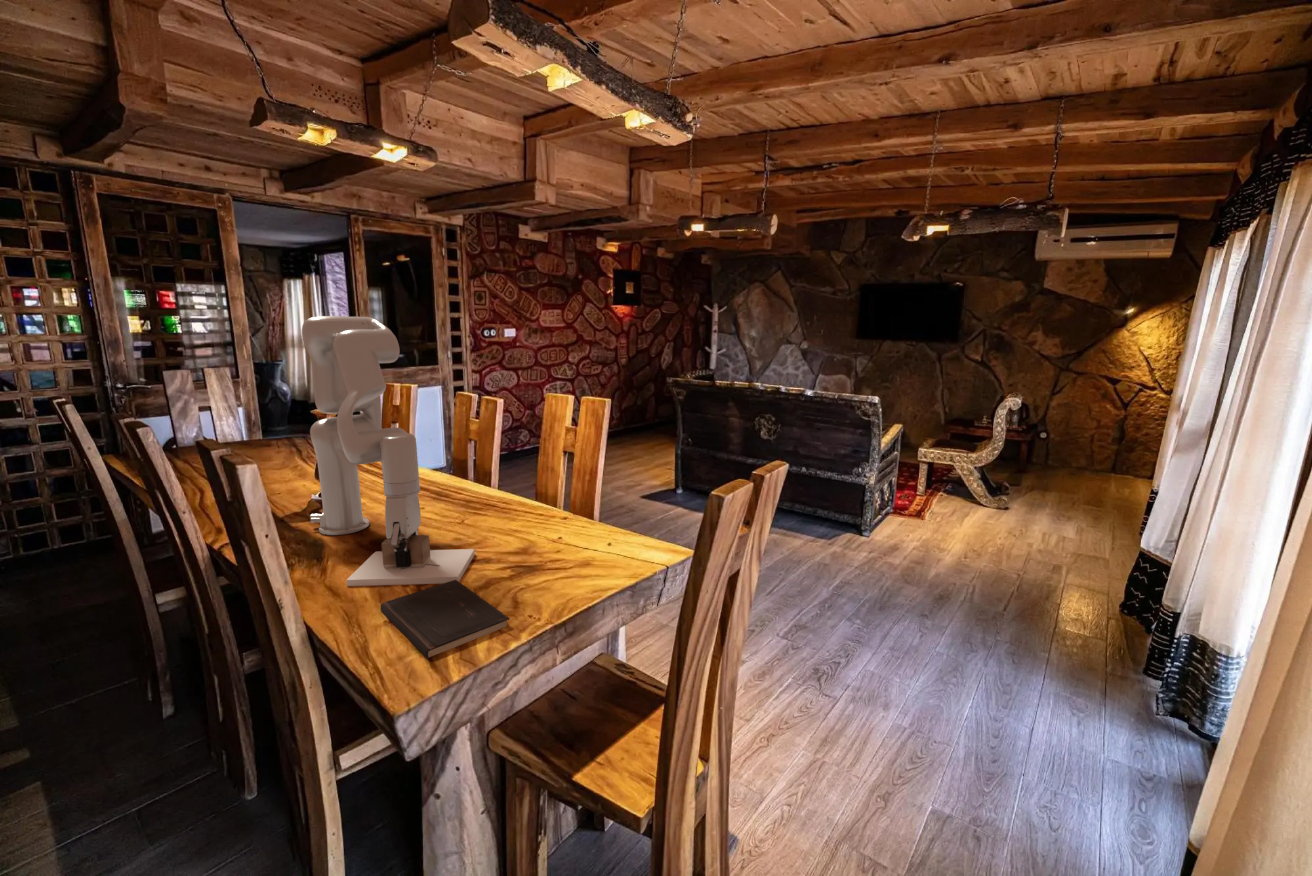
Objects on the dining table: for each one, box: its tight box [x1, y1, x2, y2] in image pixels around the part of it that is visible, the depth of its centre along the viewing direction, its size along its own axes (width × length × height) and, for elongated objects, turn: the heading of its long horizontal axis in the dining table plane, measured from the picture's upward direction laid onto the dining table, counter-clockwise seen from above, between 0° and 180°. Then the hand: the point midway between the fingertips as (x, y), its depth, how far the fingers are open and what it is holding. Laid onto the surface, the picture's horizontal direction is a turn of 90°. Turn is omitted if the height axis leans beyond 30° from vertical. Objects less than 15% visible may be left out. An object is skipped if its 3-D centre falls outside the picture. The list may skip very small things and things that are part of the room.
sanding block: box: [381, 534, 431, 568], centre depth 134 cm, size 9×5×6 cm, turn 93°
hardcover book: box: [380, 580, 510, 660], centre depth 112 cm, size 16×23×2 cm
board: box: [346, 548, 476, 587], centre depth 135 cm, size 24×16×2 cm, turn 95°
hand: (408, 560), depth 134 cm, fingers closed on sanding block, 5 cm apart
